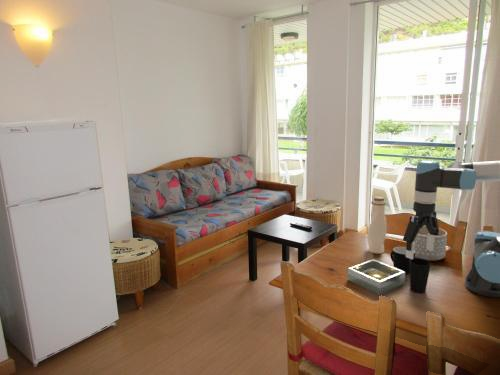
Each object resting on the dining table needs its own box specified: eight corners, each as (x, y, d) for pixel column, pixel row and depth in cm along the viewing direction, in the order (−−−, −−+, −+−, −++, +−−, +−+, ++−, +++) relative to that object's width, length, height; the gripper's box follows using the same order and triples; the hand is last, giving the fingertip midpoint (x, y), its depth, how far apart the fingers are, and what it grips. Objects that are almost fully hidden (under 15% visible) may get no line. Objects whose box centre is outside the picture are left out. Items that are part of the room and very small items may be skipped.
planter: (423, 264, 170) (425, 238, 168) (400, 251, 186) (402, 227, 183) (452, 260, 174) (455, 234, 172) (428, 247, 190) (430, 224, 187)
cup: (418, 296, 142) (420, 267, 139) (403, 287, 149) (405, 260, 146) (432, 292, 145) (435, 263, 142) (417, 283, 152) (419, 256, 149)
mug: (418, 274, 160) (420, 252, 158) (402, 277, 157) (403, 255, 155) (398, 263, 171) (399, 243, 169) (382, 267, 168) (383, 246, 166)
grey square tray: (404, 284, 152) (405, 271, 150) (379, 295, 143) (380, 282, 142) (372, 270, 165) (373, 259, 164) (347, 280, 156) (348, 268, 155)
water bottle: (362, 247, 193) (365, 195, 187) (379, 246, 194) (382, 194, 188) (371, 254, 183) (374, 200, 177) (388, 253, 184) (391, 199, 178)
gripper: (433, 195, 149) (429, 244, 153) (395, 204, 136) (391, 258, 140) (452, 198, 143) (446, 249, 147) (414, 208, 129) (409, 264, 134)
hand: (419, 254), depth 144 cm, fingers open, 13 cm apart
